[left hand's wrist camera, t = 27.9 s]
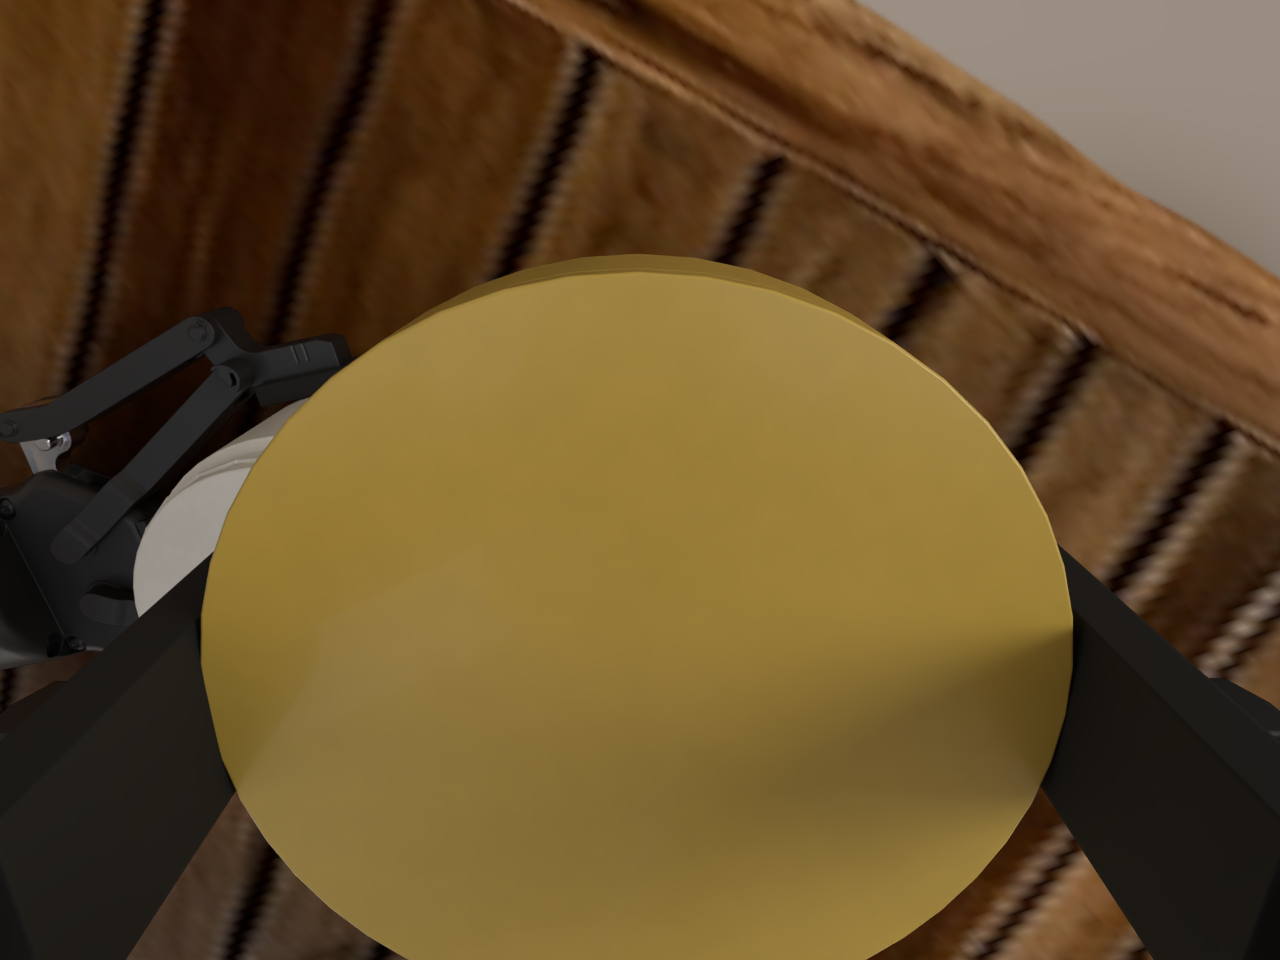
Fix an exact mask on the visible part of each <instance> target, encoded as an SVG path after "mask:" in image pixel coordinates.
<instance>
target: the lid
mask: <svg viewBox="0 0 1280 960" xmlns="http://www.w3.org/2000/svg"><path fill="white" fill-rule="evenodd" d="M200 663H201V668H202V673H203V678H204V683H205V688H206V692H207V696H208V701H209V705H210V710H211V714H212V719H213V723H214V728H215V732H216V737H217V741H218V745H219V749H220V753H221V757H222V761H223V763H224V765H225V768H226V770H227V772H228V774H229V776H230V778H231V781H232V783H233V785H234V787H235V789H236V791H237V793H238V796H239V798H240V800H241V802H242V803H243V805H244V806H245V808H246V809H247V811H248V813H249V814H250V816H251V817H252V819H253V820H254V822H255V824H256V825H257V827H258V828H259V830H260V831H261V833H262V834H263V836H264V838H265V839H266V841H267V842H268V843H269V844H270V845H271V847H272V848H273V849H274V850H275V851H276V852H277V854H278V855H279V856H280V857H281V858H282V860H283V861H284V862H285V863H286V864H287V866H288V867H289V868H290V869H291V870H292V872H293V873H294V874H295V875H296V876H297V877H298V878H299V879H300V880H301V881H302V882H303V883H304V884H305V885H306V886H307V887H308V888H310V889H311V890H312V891H313V892H314V893H315V894H316V895H317V896H318V897H319V898H320V899H321V900H322V901H323V902H324V903H325V904H327V905H328V906H329V907H330V908H331V909H332V910H334V911H335V912H336V913H338V914H339V915H340V916H342V917H343V918H344V919H346V920H347V921H348V922H350V923H351V924H352V925H354V926H355V927H356V928H358V929H359V930H360V931H362V932H363V933H365V934H366V935H367V936H369V937H370V938H372V939H374V940H376V941H377V942H379V943H381V944H382V945H384V946H386V947H387V948H389V949H391V950H393V951H394V952H396V953H398V954H399V955H401V956H403V957H404V958H406V959H408V960H866V959H868V958H870V957H871V956H873V955H875V954H876V953H878V952H880V951H882V950H883V949H885V948H887V947H888V946H890V945H892V944H894V943H895V942H897V941H899V940H901V939H902V938H904V937H905V936H907V935H908V934H909V933H911V932H912V931H914V930H915V929H916V928H918V927H919V926H920V925H922V924H923V923H924V922H926V921H927V920H928V919H930V918H931V917H933V916H934V915H935V914H937V913H938V912H939V911H941V910H942V909H943V908H944V907H945V906H946V905H947V904H948V903H950V902H951V901H952V900H953V899H954V898H955V897H956V896H957V895H958V894H959V893H960V892H961V891H962V890H964V889H965V888H966V887H967V886H968V885H969V884H970V883H971V882H972V881H973V880H974V879H975V878H976V877H977V876H978V875H979V874H980V873H981V871H982V870H983V869H984V868H985V867H986V866H987V864H988V863H989V862H990V861H991V860H992V858H993V857H994V856H995V855H996V854H997V853H998V851H999V850H1000V849H1001V848H1002V847H1003V845H1004V844H1005V843H1006V842H1007V840H1008V839H1009V837H1010V836H1011V834H1012V833H1013V831H1014V830H1015V828H1016V826H1017V825H1018V823H1019V822H1020V820H1021V819H1022V817H1023V816H1024V814H1025V813H1026V811H1027V809H1028V808H1029V806H1030V805H1031V803H1032V801H1033V799H1034V797H1035V795H1036V793H1037V791H1038V789H1039V787H1040V784H1041V782H1042V780H1043V778H1044V776H1045V774H1046V772H1047V770H1048V767H1049V765H1050V763H1051V761H1052V758H1053V755H1054V752H1055V749H1056V745H1057V742H1058V739H1059V736H1060V732H1061V729H1062V726H1063V723H1064V719H1065V716H1066V711H1067V704H1068V698H1069V691H1070V684H1071V677H1072V671H1073V615H1072V609H1071V603H1070V597H1069V591H1068V585H1067V579H1066V573H1065V567H1064V563H1063V560H1062V557H1061V555H1060V552H1059V549H1058V546H1057V543H1056V540H1055V537H1054V534H1053V531H1052V528H1051V525H1050V522H1049V519H1048V516H1047V514H1046V512H1045V510H1044V508H1043V506H1042V504H1041V503H1040V501H1039V499H1038V497H1037V495H1036V493H1035V491H1034V489H1033V487H1032V485H1031V484H1030V482H1029V480H1028V478H1027V476H1026V474H1025V472H1024V470H1023V468H1022V467H1021V465H1020V464H1019V463H1018V461H1017V460H1016V459H1015V457H1014V456H1013V455H1012V453H1011V452H1010V451H1009V449H1008V448H1007V447H1006V445H1005V444H1004V443H1003V441H1002V440H1001V439H1000V437H999V436H998V435H997V433H996V432H995V431H994V429H993V428H992V427H991V425H990V424H989V422H988V421H987V420H986V419H985V418H984V417H983V416H982V415H981V414H980V413H979V412H978V411H977V410H976V409H975V408H974V407H973V406H972V405H971V404H969V403H968V402H967V401H966V400H965V399H964V398H963V397H962V396H961V395H960V394H959V393H958V392H957V391H956V390H955V389H954V388H953V387H952V386H951V385H950V384H949V383H948V382H947V381H946V380H945V379H944V378H942V377H941V376H940V375H938V374H937V373H935V372H934V371H933V370H931V369H930V368H929V367H927V366H926V365H924V364H923V363H922V362H920V361H919V360H918V359H916V358H915V357H913V356H912V355H911V354H909V353H908V352H906V351H905V350H904V349H902V348H901V347H900V346H898V345H897V344H895V343H894V342H893V341H891V340H890V339H888V338H886V337H885V336H884V335H882V334H881V333H879V332H878V331H876V330H875V329H873V328H872V327H870V326H869V325H867V324H866V323H864V322H863V321H861V320H860V319H858V318H857V317H855V316H854V315H852V314H851V313H849V312H847V311H845V310H843V309H841V308H839V307H837V306H835V305H834V304H832V303H830V302H828V301H826V300H824V299H822V298H820V297H818V296H816V295H815V294H813V293H811V292H809V291H807V290H805V289H803V288H801V287H798V286H795V285H792V284H789V283H787V282H784V281H781V280H778V279H775V278H773V277H770V276H767V275H764V274H762V273H759V272H756V271H753V270H750V269H746V268H741V267H736V266H731V265H727V264H722V263H717V262H712V261H708V260H703V259H698V258H689V257H675V256H661V255H648V254H629V255H613V256H597V257H582V258H577V259H572V260H567V261H562V262H557V263H552V264H547V265H542V266H537V267H532V268H527V269H524V270H521V271H518V272H516V273H513V274H510V275H507V276H504V277H501V278H498V279H496V280H493V281H490V282H487V283H484V284H481V285H478V286H476V287H473V288H471V289H469V290H467V291H465V292H464V293H462V294H460V295H458V296H456V297H454V298H452V299H450V300H448V301H446V302H444V303H442V304H440V305H438V306H436V307H434V308H432V309H431V310H429V311H427V312H425V313H423V314H422V315H420V316H419V317H417V318H416V319H414V320H413V321H411V322H410V323H408V324H407V325H405V326H404V327H402V328H401V329H399V330H398V331H396V332H394V333H393V334H391V335H390V336H388V337H387V338H385V339H384V340H382V341H381V342H379V343H378V344H377V345H375V346H374V347H372V348H371V349H370V350H368V351H367V352H365V353H364V354H363V355H361V356H360V357H358V358H357V359H356V360H354V361H353V362H351V363H350V364H349V365H347V366H346V367H344V368H343V369H342V370H340V371H339V372H337V373H336V374H334V375H333V376H332V377H331V378H329V379H328V380H327V381H326V382H325V383H324V384H323V385H322V386H321V387H320V388H319V389H318V390H317V391H316V392H315V393H314V394H313V395H312V396H311V397H310V398H309V399H308V400H307V401H306V402H305V403H304V404H303V405H301V406H300V407H299V408H298V409H297V410H296V411H295V412H294V413H293V414H292V415H291V416H290V417H289V418H288V419H287V421H286V422H285V423H284V424H283V426H282V427H281V428H280V430H279V431H278V432H277V434H276V435H275V436H274V438H273V439H272V440H271V442H270V443H269V444H268V445H267V447H266V448H265V449H264V451H263V452H262V453H261V455H260V456H259V457H258V459H257V460H256V461H255V463H254V464H253V466H252V468H251V469H250V471H249V473H248V475H247V477H246V479H245V481H244V482H243V484H242V486H241V488H240V490H239V492H238V494H237V495H236V497H235V499H234V501H233V503H232V505H231V507H230V508H229V510H228V512H227V515H226V518H225V521H224V523H223V526H222V529H221V532H220V535H219V538H218V541H217V544H216V547H215V549H214V552H213V555H212V558H211V561H210V565H209V571H208V577H207V582H206V588H205V594H204V600H203V605H202V611H201V650H200Z"/></svg>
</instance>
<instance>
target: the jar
mask: <svg viewBox="0 0 1280 960" xmlns="http://www.w3.org/2000/svg"><path fill="white" fill-rule="evenodd" d="M309 398H310V397H307V398H302V399H298V400H296V401H294V402H293V403H291V404H289V405H288V406H286V407H285V408H283V409H282V410H280V411H279V412H277V413H275V414H274V415H272V416H271V417H269V418H268V419H266V420H265V421H263V422H261V423H260V424H258V425H257V426H255V427H254V428H252V429H251V430H249V431H247V432H246V433H244V434H243V435H241V436H240V437H238V438H237V439H235V440H233V441H232V442H230V443H229V444H227V445H226V446H224V447H223V448H221V449H219V450H218V451H216V452H215V453H213V454H212V455H210V456H209V457H207V458H206V459H204V460H203V461H201V462H200V463H198V464H197V465H196V466H195V467H193V468H192V469H191V470H190V471H189V472H188V473H187V474H186V475H185V476H184V477H183V478H182V479H181V480H180V482H179V483H178V484H177V485H176V487H175V488H174V489H173V490H172V492H171V494H170V495H169V496H168V497H166V499H165V500H164V502H163V503H162V505H161V506H160V508H159V509H158V511H157V512H156V514H155V515H154V517H153V518H152V520H151V521H150V523H149V524H148V526H147V527H146V528H145V532H144V535H143V537H142V540H141V543H140V545H139V548H138V551H137V555H136V560H135V566H134V577H133V590H134V598H135V605H136V609H137V613H138V616H139V617H140V616H141V615H142V614H144V613H145V612H146V611H147V610H148V609H149V608H150V607H151V606H153V605H154V604H155V603H156V602H157V601H158V600H159V599H160V598H162V597H163V596H164V595H165V594H166V593H167V592H168V591H169V590H171V589H172V588H173V587H174V586H175V585H176V584H177V583H178V582H180V581H181V580H182V579H183V578H184V577H185V576H186V575H187V574H189V573H190V572H191V571H192V570H193V569H194V568H195V567H196V566H197V565H199V564H200V563H201V562H202V561H203V560H204V559H205V558H206V557H208V556H209V555H210V554H211V553H212V552H213V551H214V549H215V547H216V544H217V541H218V538H219V535H220V532H221V529H222V526H223V523H224V521H225V518H226V515H227V512H228V510H229V508H230V507H231V505H232V503H233V501H234V499H235V497H236V495H237V494H238V492H239V490H240V488H241V486H242V484H243V482H244V481H245V479H246V477H247V475H248V473H249V471H250V469H251V468H252V466H253V464H254V463H255V461H256V460H257V459H258V457H259V456H260V455H261V453H262V452H263V451H264V449H265V448H266V447H267V445H268V444H269V443H270V442H271V440H272V439H273V438H274V436H275V435H276V434H277V432H278V431H279V430H280V428H281V427H282V426H283V424H284V423H285V422H286V421H287V419H288V418H289V417H290V416H291V415H292V414H293V413H294V412H295V411H296V410H297V409H298V408H299V407H300V406H301V405H303V404H304V403H305V402H306V401H307V400H308V399H309Z"/></svg>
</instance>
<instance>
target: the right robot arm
mask: <svg viewBox="0 0 1280 960" xmlns="http://www.w3.org/2000/svg"><path fill="white" fill-rule="evenodd" d="M205 355H206V356H207V358H208V359H209V360H210V361H211V362H212V364H213V365H214V367H212V368H211V369H210V370H211V371H213V372H212V374H211V375H210V376H209V377H208V378H207V379H206V380H205V381H204V382H203V383H202V384H201V385H200V387H199V388H198V389H197V390H196V391H195V392H194V393H193V394H192V395H191V396H190V397H189V398H188V400H187V401H186V402H185V403H184V404H183V405H182V406H181V407H180V408H179V409H178V410H177V411H176V413H175V414H174V415H173V416H172V417H171V418H170V419H169V420H168V421H167V422H166V423H165V424H164V426H163V427H162V428H161V429H160V430H159V431H158V432H157V433H156V434H155V435H154V436H153V437H152V439H151V440H150V441H149V442H148V443H147V444H146V445H145V446H144V447H143V448H142V449H141V450H140V452H139V453H138V454H137V455H136V456H135V457H134V458H133V459H132V460H131V461H130V462H129V463H128V465H127V466H126V467H125V468H124V469H123V470H122V471H121V472H119V473H118V474H117V475H116V476H114V477H112V476H110V475H107V474H104V473H102V472H99V471H96V470H94V469H91V468H89V467H86V466H83V465H81V464H78V463H73V462H71V460H70V453H71V450H72V449H73V448H74V447H76V446H78V445H80V444H82V443H83V442H84V440H85V437H86V433H87V432H88V431H89V426H88V424H87V423H89V422H91V421H94V420H96V419H98V418H100V417H103V416H105V415H107V414H109V413H111V412H113V411H115V410H116V409H118V408H119V407H121V406H123V405H124V404H126V403H128V402H129V401H131V400H133V399H134V398H136V397H138V396H139V395H141V394H143V393H144V392H146V391H148V390H149V389H151V388H152V387H154V386H156V385H157V384H159V383H161V382H162V381H164V380H166V379H167V378H169V377H171V376H172V375H174V374H176V373H177V372H179V371H181V370H182V369H184V368H185V367H187V366H189V365H190V364H192V363H194V362H195V361H197V360H199V359H200V358H202V357H204V356H205ZM358 357H360V356H356V357H351V354H350V351H349V348H348V345H347V342H346V339H345V337H344V335H338V334H332V333H329V334H324V335H320V336H316V337H310V338H306V339H301V340H297V341H292V342H287V343H283V344H278V345H273V346H266V345H262V344H260V343H258V342H256V341H255V340H254V339H253V338H252V337H251V336H250V335H249V334H248V333H247V331H246V330H245V329H244V320H243V318H242V316H241V314H240V313H239V312H238V311H237V310H235V309H233V308H231V307H222V308H218V309H215V310H212V311H208V312H205V313H202V314H198V315H195V316H192V317H189V318H187V319H185V320H183V321H182V322H180V323H179V324H177V325H175V326H174V327H172V328H170V329H169V330H167V331H166V332H164V333H162V334H161V335H159V336H158V337H156V338H154V339H153V340H151V341H149V342H148V343H146V344H145V345H143V346H141V347H140V348H138V349H136V350H135V351H133V352H132V353H130V354H128V355H127V356H125V357H124V358H122V359H120V360H119V361H117V362H115V363H114V364H112V365H111V366H109V367H107V368H106V369H104V370H103V371H101V372H99V373H98V374H96V375H94V376H93V377H91V378H90V379H88V380H86V381H85V382H83V383H82V384H80V385H78V386H77V387H75V388H73V389H72V390H70V391H69V392H67V393H65V394H64V395H57V396H51V397H45V398H42V399H40V400H37V401H34V402H31V403H28V404H26V405H23V406H20V407H17V408H15V409H12V410H10V411H7V412H4V413H1V414H0V439H1V440H3V441H5V442H8V443H20V445H21V447H22V449H23V452H24V454H25V456H26V459H27V461H28V463H29V465H30V468H31V470H32V472H33V475H32V476H30V477H29V478H28V479H27V480H26V481H25V483H22V484H18V485H13V486H8V487H3V488H0V670H3V669H8V668H13V667H19V666H24V665H29V664H34V663H40V662H45V661H50V660H55V659H60V658H63V657H67V656H71V655H74V654H78V653H81V652H85V651H102V650H103V649H104V648H105V647H107V646H108V645H109V644H110V643H111V642H112V641H113V640H114V639H116V638H117V637H118V636H119V635H120V634H121V633H122V632H123V631H124V630H126V629H127V628H128V627H129V626H130V625H131V624H132V623H133V622H135V621H136V620H137V619H138V618H139V616H138V613H137V609H136V605H135V598H134V590H133V577H134V566H135V560H136V555H137V551H138V548H139V545H140V543H141V540H142V537H143V535H144V532H145V528H146V527H147V526H148V524H149V523H150V521H151V520H152V518H153V517H154V515H155V514H156V512H157V511H158V509H159V508H160V506H161V505H162V503H163V502H164V501H163V500H162V499H161V498H159V496H160V494H161V493H162V492H163V491H164V490H165V489H166V488H167V487H168V486H169V485H170V484H171V483H172V482H173V481H174V480H175V479H176V478H177V477H178V475H179V474H180V473H181V472H180V471H181V470H182V469H183V468H184V467H185V466H186V465H187V463H188V462H189V461H190V460H191V459H192V458H193V457H194V456H195V455H196V454H197V453H198V452H199V451H200V450H201V449H202V448H203V447H204V446H205V445H206V443H207V442H208V441H209V440H210V439H211V438H212V437H213V436H214V435H215V434H216V433H217V432H218V431H219V430H220V429H221V428H222V427H223V426H224V425H225V423H226V422H227V421H228V420H229V419H230V418H231V417H232V416H233V415H234V414H235V413H236V412H237V411H238V410H239V409H240V408H241V407H242V406H243V404H244V403H245V402H246V401H247V400H248V399H249V398H250V397H251V396H252V395H253V394H254V393H256V396H257V398H258V401H259V404H260V406H261V407H264V406H269V405H274V404H279V403H283V402H288V401H293V400H298V399H302V398H307V397H311V396H312V395H313V394H314V393H315V392H316V391H317V390H318V389H319V388H320V387H321V386H322V385H323V384H324V383H325V382H326V381H327V380H328V379H329V378H331V377H332V376H333V375H334V374H336V373H337V372H339V371H340V370H342V369H343V368H344V367H346V366H347V365H349V364H350V363H351V362H353V361H354V360H356V359H357V358H358Z"/></svg>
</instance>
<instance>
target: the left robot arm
mask: <svg viewBox="0 0 1280 960" xmlns="http://www.w3.org/2000/svg"><path fill="white" fill-rule="evenodd" d="M1057 546H1058V549H1059V552H1060V555H1061V557H1062V560H1063V563H1064V567H1065V573H1066V579H1067V585H1068V591H1069V597H1070V603H1071V609H1072V615H1073V671H1072V677H1071V684H1070V691H1069V698H1068V704H1067V711H1066V716H1065V719H1064V723H1063V726H1062V729H1061V732H1060V736H1059V739H1058V742H1057V745H1056V749H1055V752H1054V755H1053V758H1052V761H1051V763H1050V765H1049V767H1048V770H1047V772H1046V774H1045V776H1044V778H1043V780H1042V782H1041V784H1040V786H1041V787H1042V789H1043V791H1044V792H1045V794H1046V795H1047V797H1048V798H1049V800H1050V801H1051V803H1052V804H1053V806H1054V807H1055V809H1056V810H1057V812H1058V814H1059V815H1060V817H1061V818H1062V820H1063V821H1064V823H1065V824H1066V826H1067V827H1068V829H1069V830H1070V832H1071V834H1072V835H1073V837H1074V838H1075V840H1076V841H1077V843H1078V844H1079V846H1080V847H1081V849H1082V850H1083V852H1084V853H1085V855H1086V857H1087V858H1088V860H1089V861H1090V863H1091V864H1092V866H1093V867H1094V869H1095V870H1096V872H1097V873H1098V875H1099V876H1100V878H1101V880H1102V881H1103V883H1104V884H1105V886H1106V887H1107V889H1108V890H1109V892H1110V893H1111V895H1112V896H1113V898H1114V899H1115V901H1116V903H1117V904H1118V906H1119V907H1120V909H1121V910H1122V912H1123V913H1124V915H1125V916H1126V918H1127V919H1128V921H1129V922H1130V924H1131V926H1132V927H1133V929H1134V930H1135V932H1136V933H1137V935H1138V936H1139V938H1140V939H1141V941H1142V942H1143V944H1144V945H1145V947H1146V949H1147V950H1148V952H1149V953H1150V955H1151V956H1152V958H1153V959H1154V960H1280V711H1279V710H1278V709H1277V708H1276V707H1274V706H1273V705H1272V704H1271V703H1269V702H1267V701H1266V700H1264V699H1262V698H1260V697H1258V696H1256V695H1255V694H1253V693H1251V692H1249V691H1247V690H1245V689H1244V688H1242V687H1240V686H1238V685H1236V684H1234V683H1232V682H1231V681H1229V680H1227V679H1225V678H1208V677H1207V676H1205V675H1204V674H1203V673H1202V672H1201V671H1200V670H1199V669H1198V668H1196V667H1195V666H1194V665H1193V664H1192V663H1191V662H1190V661H1189V660H1187V659H1186V658H1185V657H1184V656H1183V655H1182V654H1181V653H1180V652H1179V651H1177V650H1176V649H1175V648H1174V647H1173V646H1172V645H1171V644H1170V643H1168V642H1167V641H1166V640H1165V639H1164V638H1163V637H1162V636H1161V635H1159V634H1158V633H1157V632H1156V631H1155V630H1154V629H1153V628H1152V627H1150V626H1149V625H1148V624H1147V623H1146V622H1145V621H1144V620H1143V619H1141V618H1140V617H1139V616H1138V615H1137V614H1136V613H1135V612H1134V611H1132V610H1131V609H1130V608H1129V607H1128V606H1127V605H1126V604H1125V603H1123V602H1122V601H1121V600H1120V599H1119V598H1118V597H1117V596H1116V595H1115V594H1113V593H1112V592H1111V591H1110V590H1109V589H1108V588H1107V587H1106V586H1104V585H1103V584H1102V583H1101V582H1100V581H1099V580H1098V579H1097V578H1095V577H1094V576H1093V575H1092V574H1091V573H1090V572H1089V571H1088V570H1086V569H1085V568H1084V567H1083V566H1082V565H1081V564H1080V563H1079V562H1077V561H1076V560H1075V559H1074V558H1073V557H1072V556H1071V555H1070V554H1068V553H1067V552H1066V551H1065V550H1064V549H1063V548H1062V547H1061V546H1059V545H1058V544H1057ZM213 552H214V551H213ZM213 552H212V553H211V554H210V555H209V556H208V557H206V558H205V559H204V560H203V561H202V562H201V563H200V564H199V565H197V566H196V567H195V568H194V569H193V570H192V571H191V572H190V573H189V574H187V575H186V576H185V577H184V578H183V579H182V580H181V581H180V582H178V583H177V584H176V585H175V586H174V587H173V588H172V589H171V590H169V591H168V592H167V593H166V594H165V595H164V596H163V597H162V598H160V599H159V600H158V601H157V602H156V603H155V604H154V605H153V606H151V607H150V608H149V609H148V610H147V611H146V612H145V613H144V614H142V615H141V616H140V617H139V618H138V619H137V620H136V621H135V622H133V623H132V624H131V625H130V626H129V627H128V628H127V629H126V630H124V631H123V632H122V633H121V634H120V635H119V636H118V637H117V638H116V639H114V640H113V641H112V642H111V643H110V644H109V645H108V646H107V647H105V648H104V649H103V650H102V651H101V652H100V653H99V654H98V655H96V656H95V657H94V658H93V659H92V660H91V661H90V662H89V663H87V664H86V665H85V666H84V667H83V668H82V669H81V670H80V671H78V672H77V673H76V674H75V675H74V676H73V677H72V678H71V679H69V680H68V681H55V682H53V683H51V684H49V685H47V686H46V687H44V688H42V689H40V690H38V691H36V692H35V693H33V694H31V695H29V696H27V697H25V698H24V699H22V700H20V701H18V702H16V703H14V704H13V705H11V706H9V707H8V708H7V709H6V710H5V711H3V712H2V713H1V714H0V960H126V958H127V957H128V955H129V954H130V952H131V951H132V949H133V948H134V946H135V945H136V943H137V942H138V940H139V938H140V937H141V935H142V934H143V932H144V931H145V929H146V928H147V926H148V925H149V923H150V922H151V920H152V919H153V917H154V915H155V914H156V912H157V911H158V909H159V908H160V906H161V905H162V903H163V902H164V900H165V899H166V897H167V896H168V894H169V892H170V891H171V889H172V888H173V886H174V885H175V883H176V882H177V880H178V879H179V877H180V876H181V874H182V873H183V871H184V869H185V868H186V866H187V865H188V863H189V862H190V860H191V859H192V857H193V856H194V854H195V853H196V851H197V850H198V848H199V846H200V845H201V843H202V842H203V840H204V839H205V837H206V836H207V834H208V833H209V831H210V830H211V828H212V827H213V825H214V823H215V822H216V820H217V819H218V817H219V816H220V814H221V813H222V811H223V810H224V808H225V807H226V805H227V804H228V802H229V800H230V799H231V797H232V796H233V794H234V793H235V791H236V789H235V787H234V785H233V783H232V781H231V778H230V776H229V774H228V772H227V770H226V768H225V765H224V763H223V761H222V757H221V753H220V749H219V745H218V741H217V737H216V732H215V728H214V723H213V719H212V714H211V710H210V705H209V701H208V696H207V692H206V688H205V683H204V678H203V673H202V668H201V663H200V650H201V611H202V605H203V600H204V594H205V588H206V582H207V577H208V571H209V565H210V561H211V558H212V555H213Z"/></svg>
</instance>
